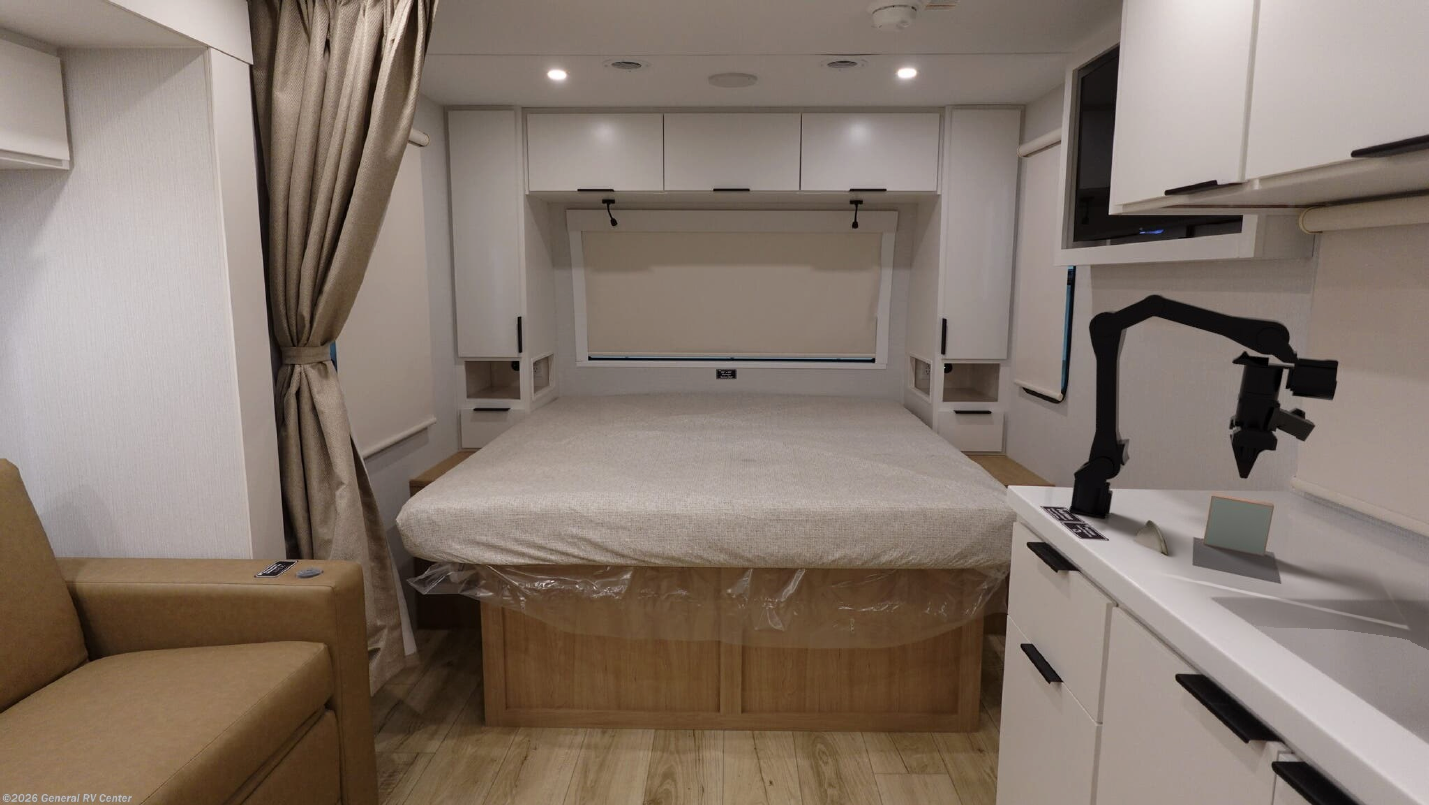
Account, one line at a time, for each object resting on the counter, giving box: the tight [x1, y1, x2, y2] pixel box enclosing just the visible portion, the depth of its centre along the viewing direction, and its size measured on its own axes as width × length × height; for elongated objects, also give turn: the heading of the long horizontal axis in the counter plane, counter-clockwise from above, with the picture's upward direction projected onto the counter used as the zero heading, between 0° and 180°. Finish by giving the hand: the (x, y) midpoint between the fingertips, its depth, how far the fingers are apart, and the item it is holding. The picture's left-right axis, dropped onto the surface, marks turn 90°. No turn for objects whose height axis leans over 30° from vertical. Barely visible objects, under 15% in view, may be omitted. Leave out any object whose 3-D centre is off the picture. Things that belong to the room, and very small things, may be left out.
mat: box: [1192, 536, 1282, 585], centre depth 133 cm, size 12×16×1 cm
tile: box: [1203, 493, 1275, 556], centre depth 137 cm, size 9×2×9 cm, turn 59°
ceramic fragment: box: [1131, 519, 1169, 557], centre depth 140 cm, size 14×5×4 cm, turn 163°
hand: (1243, 478), depth 140 cm, fingers closed
